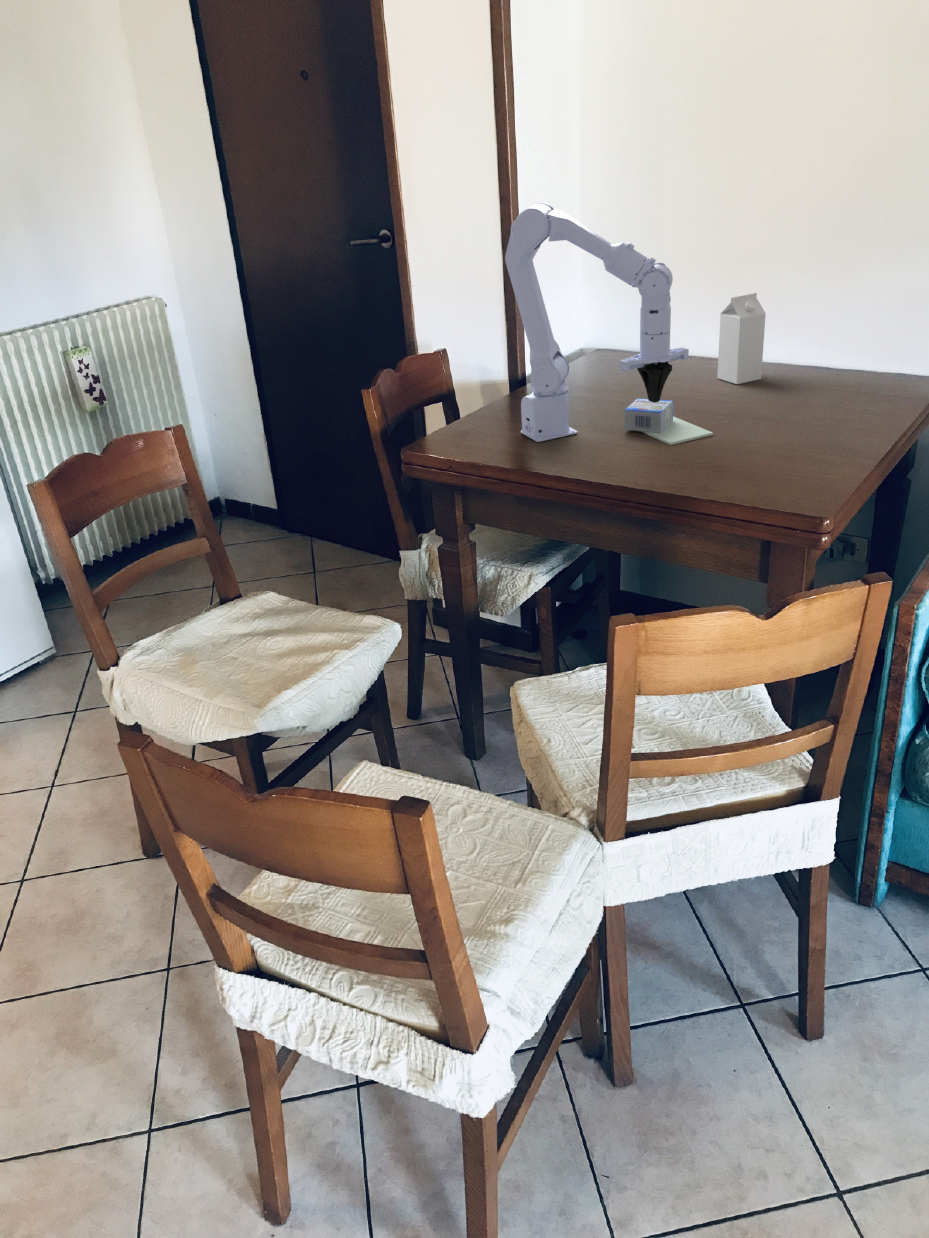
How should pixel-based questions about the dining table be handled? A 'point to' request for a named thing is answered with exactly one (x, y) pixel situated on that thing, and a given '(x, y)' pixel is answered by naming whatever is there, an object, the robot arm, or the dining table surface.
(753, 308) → the milk carton
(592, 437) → the dining table surface
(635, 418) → the medicine box
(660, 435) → the mat
